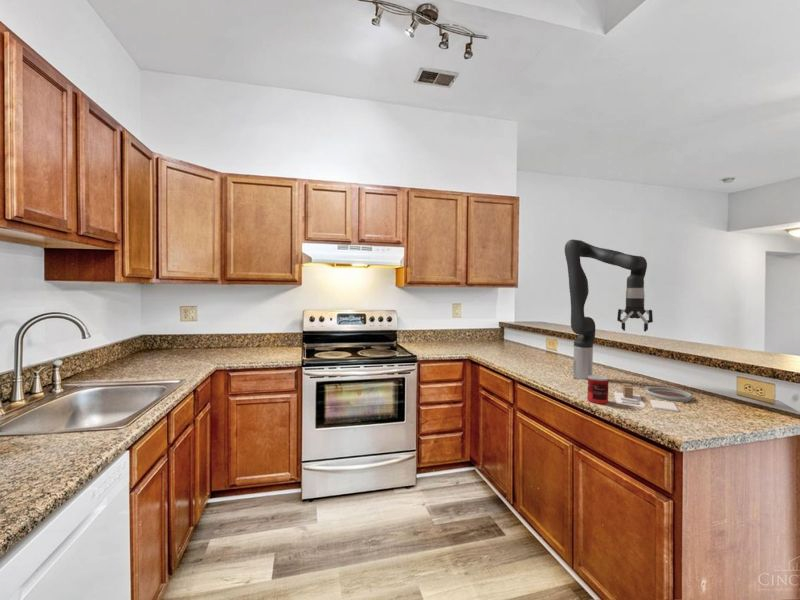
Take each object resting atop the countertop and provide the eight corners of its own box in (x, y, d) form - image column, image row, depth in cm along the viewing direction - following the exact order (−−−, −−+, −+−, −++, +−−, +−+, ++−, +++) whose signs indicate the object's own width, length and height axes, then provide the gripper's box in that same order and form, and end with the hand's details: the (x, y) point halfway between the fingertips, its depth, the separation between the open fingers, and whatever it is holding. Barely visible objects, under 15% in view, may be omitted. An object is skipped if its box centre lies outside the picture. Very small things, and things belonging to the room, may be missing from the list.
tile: (650, 403, 155) (653, 411, 146) (650, 399, 155) (653, 407, 146) (673, 406, 152) (678, 414, 142) (673, 402, 152) (678, 410, 142)
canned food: (596, 398, 160) (596, 374, 160) (612, 404, 153) (613, 378, 153) (583, 400, 158) (583, 375, 157) (599, 406, 150) (599, 380, 150)
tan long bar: (619, 393, 166) (619, 382, 166) (634, 395, 164) (634, 384, 163) (621, 402, 153) (622, 391, 153) (638, 404, 150) (639, 392, 150)
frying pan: (655, 381, 183) (703, 396, 155) (655, 387, 183) (703, 403, 155) (621, 381, 182) (664, 397, 154) (621, 387, 182) (664, 403, 154)
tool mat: (616, 404, 152) (616, 403, 152) (613, 393, 169) (613, 392, 169) (645, 408, 148) (645, 407, 148) (639, 395, 164) (639, 394, 164)
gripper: (651, 297, 175) (650, 330, 176) (617, 297, 182) (616, 329, 182) (654, 297, 168) (653, 332, 169) (618, 297, 175) (617, 331, 175)
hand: (634, 330), depth 176 cm, fingers open, 8 cm apart
